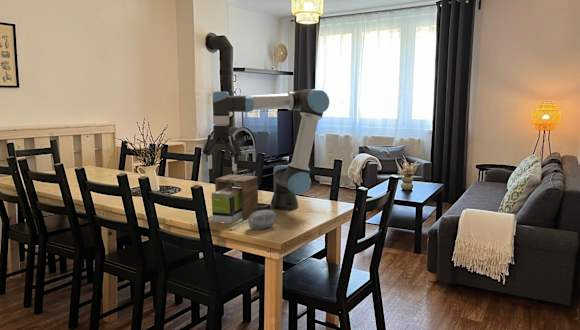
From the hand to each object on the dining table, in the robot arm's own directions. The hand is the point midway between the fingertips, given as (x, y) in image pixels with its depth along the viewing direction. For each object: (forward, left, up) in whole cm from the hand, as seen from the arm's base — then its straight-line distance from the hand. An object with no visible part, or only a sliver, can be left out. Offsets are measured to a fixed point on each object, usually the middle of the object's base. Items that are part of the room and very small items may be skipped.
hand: (222, 169), depth 214 cm
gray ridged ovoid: (-22, +2, -26) cm, 34 cm away
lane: (0, +3, -25) cm, 26 cm away
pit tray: (0, -26, -25) cm, 36 cm away
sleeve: (0, -13, -25) cm, 29 cm away
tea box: (0, -5, -26) cm, 26 cm away
